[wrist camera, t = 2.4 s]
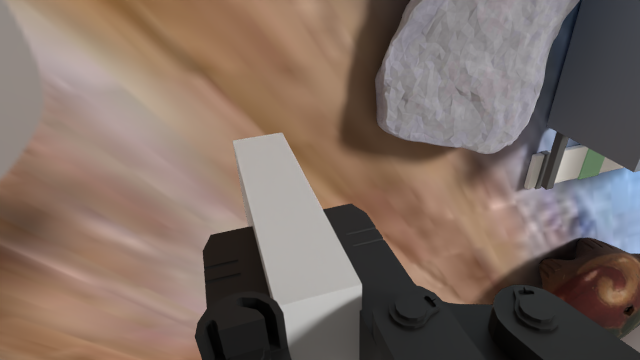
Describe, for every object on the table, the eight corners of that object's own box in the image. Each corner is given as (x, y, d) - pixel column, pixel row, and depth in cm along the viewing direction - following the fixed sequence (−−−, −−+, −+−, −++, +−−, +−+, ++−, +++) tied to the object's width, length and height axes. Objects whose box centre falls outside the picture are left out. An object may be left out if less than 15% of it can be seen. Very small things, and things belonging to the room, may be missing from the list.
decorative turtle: (631, 246, 42) (707, 309, 36) (504, 319, 45) (555, 390, 38) (625, 193, 36) (715, 258, 30) (479, 281, 39) (535, 357, 33)
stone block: (354, 121, 28) (488, 138, 29) (368, 149, 23) (524, 167, 25) (396, -82, 22) (557, -48, 24) (424, -94, 18) (618, -52, 20)
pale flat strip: (533, 153, 31) (537, 156, 31) (634, 132, 33) (640, 135, 33) (523, 187, 33) (527, 191, 32) (621, 165, 35) (626, 168, 35)
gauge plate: (612, -107, 22) (762, -121, 16) (633, -108, 22) (788, -122, 17) (530, 182, 32) (605, 236, 27) (546, 179, 33) (623, 231, 27)
